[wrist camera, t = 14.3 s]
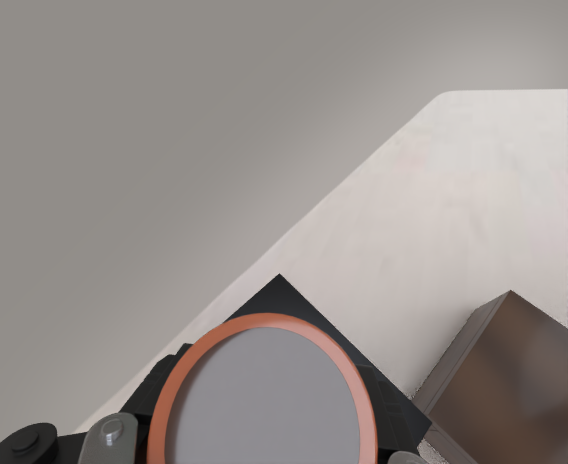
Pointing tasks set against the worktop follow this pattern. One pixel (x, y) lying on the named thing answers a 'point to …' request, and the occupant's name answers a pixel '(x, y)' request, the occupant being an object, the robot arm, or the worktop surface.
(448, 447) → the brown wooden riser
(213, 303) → the worktop surface
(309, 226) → the worktop surface
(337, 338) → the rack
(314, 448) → the cup
